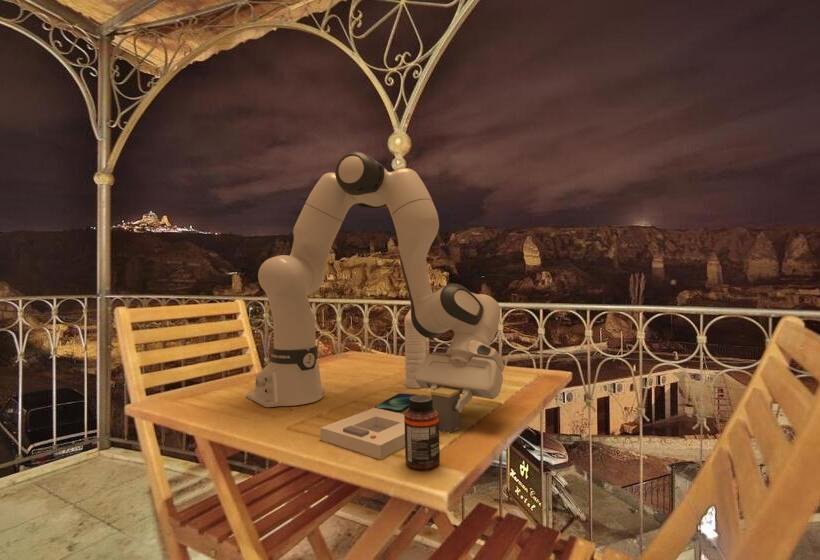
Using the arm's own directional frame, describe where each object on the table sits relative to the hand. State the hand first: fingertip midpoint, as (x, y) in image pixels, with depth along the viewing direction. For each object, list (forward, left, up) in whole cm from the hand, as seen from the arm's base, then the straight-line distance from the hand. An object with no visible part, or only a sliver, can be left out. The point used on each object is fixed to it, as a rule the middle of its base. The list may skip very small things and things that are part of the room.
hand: (444, 408), depth 88 cm
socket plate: (-9, -11, -4) cm, 15 cm away
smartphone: (-20, +10, -5) cm, 23 cm away
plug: (0, +1, -4) cm, 4 cm away
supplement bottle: (+6, -16, -5) cm, 18 cm away
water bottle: (-26, +27, -5) cm, 38 cm away
